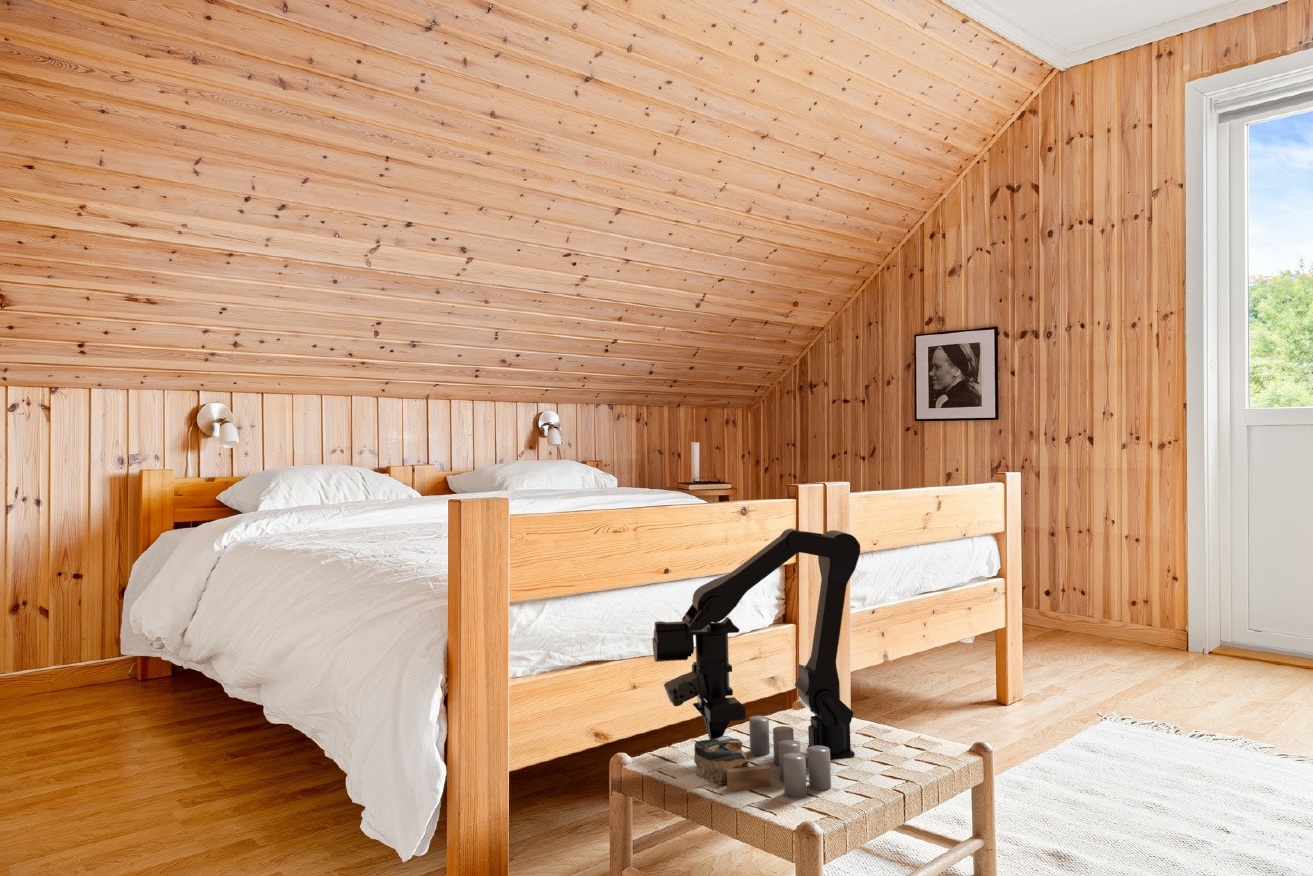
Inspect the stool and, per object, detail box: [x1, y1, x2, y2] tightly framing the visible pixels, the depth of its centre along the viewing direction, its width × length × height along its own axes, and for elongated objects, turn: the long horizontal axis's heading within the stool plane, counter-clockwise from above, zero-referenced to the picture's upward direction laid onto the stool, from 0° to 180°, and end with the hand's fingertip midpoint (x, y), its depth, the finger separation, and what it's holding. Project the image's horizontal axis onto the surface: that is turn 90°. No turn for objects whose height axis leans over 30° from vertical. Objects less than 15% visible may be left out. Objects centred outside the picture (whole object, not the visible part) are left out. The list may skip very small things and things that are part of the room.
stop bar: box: [726, 764, 772, 792], centre depth 145 cm, size 7×2×3 cm, turn 102°
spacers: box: [748, 715, 832, 800], centre depth 152 cm, size 8×24×6 cm, turn 12°
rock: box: [693, 735, 750, 786], centre depth 151 cm, size 9×9×6 cm
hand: (714, 747), depth 157 cm, fingers closed
